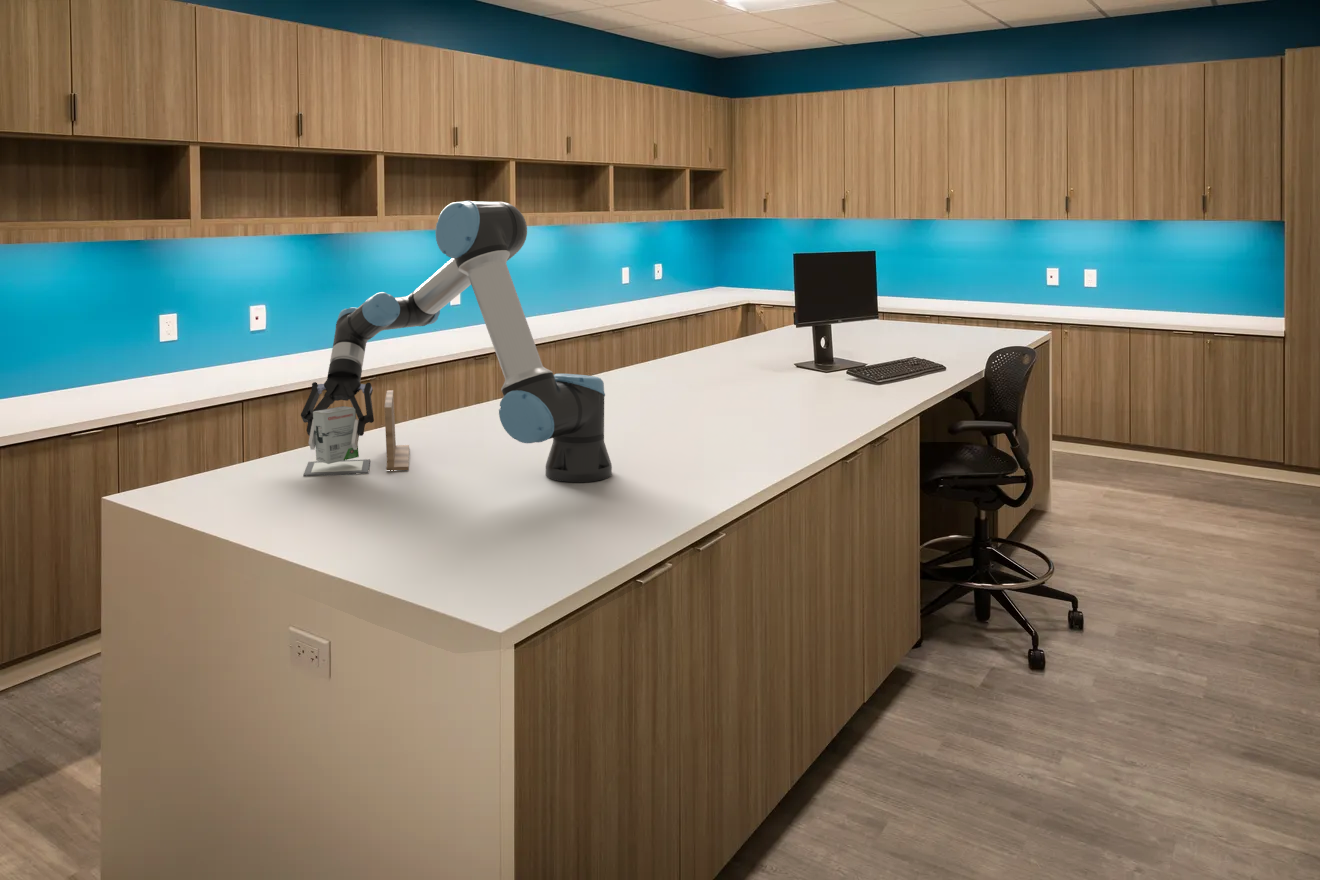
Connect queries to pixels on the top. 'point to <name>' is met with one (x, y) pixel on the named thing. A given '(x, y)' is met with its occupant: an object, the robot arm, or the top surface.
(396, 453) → the light wood l-shaped piece
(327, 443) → the ink box
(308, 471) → the mat
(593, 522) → the top surface
